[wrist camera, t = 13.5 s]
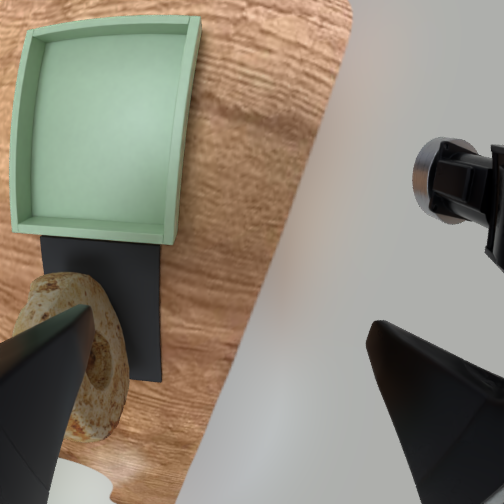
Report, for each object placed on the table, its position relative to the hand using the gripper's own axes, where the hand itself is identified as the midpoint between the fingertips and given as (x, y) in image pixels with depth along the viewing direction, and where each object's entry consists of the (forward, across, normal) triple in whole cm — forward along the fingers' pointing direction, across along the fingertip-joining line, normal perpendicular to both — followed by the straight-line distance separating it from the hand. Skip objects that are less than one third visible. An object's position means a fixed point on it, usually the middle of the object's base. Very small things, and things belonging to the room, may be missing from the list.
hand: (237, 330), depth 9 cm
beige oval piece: (+11, +9, +7) cm, 16 cm away
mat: (+12, +9, +8) cm, 16 cm away
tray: (+12, +8, -6) cm, 16 cm away
